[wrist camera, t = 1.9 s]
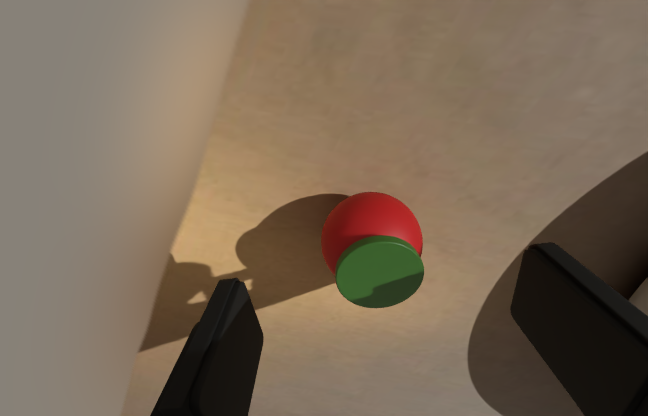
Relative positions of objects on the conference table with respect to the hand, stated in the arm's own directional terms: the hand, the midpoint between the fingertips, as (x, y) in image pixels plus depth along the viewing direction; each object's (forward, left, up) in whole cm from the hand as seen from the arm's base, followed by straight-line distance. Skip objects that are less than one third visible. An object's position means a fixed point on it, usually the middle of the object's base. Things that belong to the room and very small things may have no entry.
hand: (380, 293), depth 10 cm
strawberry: (-1, 0, -5) cm, 5 cm away
